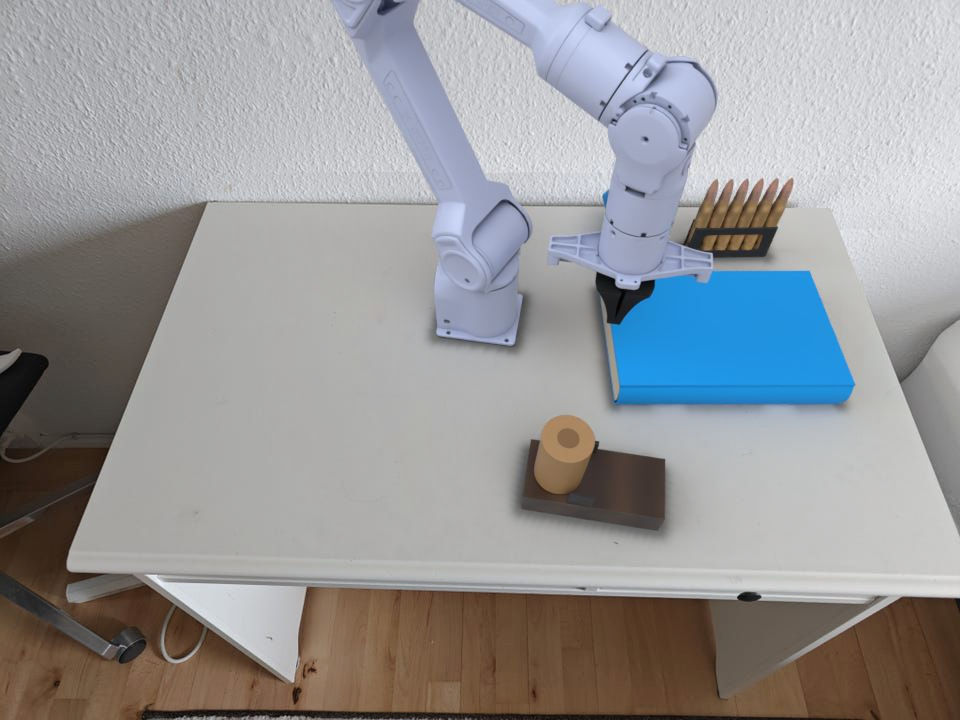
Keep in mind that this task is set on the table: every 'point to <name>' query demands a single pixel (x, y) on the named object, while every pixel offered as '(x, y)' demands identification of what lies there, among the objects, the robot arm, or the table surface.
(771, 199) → the ammunition clip
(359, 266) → the table surface
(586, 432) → the towel roll
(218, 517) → the table surface
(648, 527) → the stand
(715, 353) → the book
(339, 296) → the table surface
